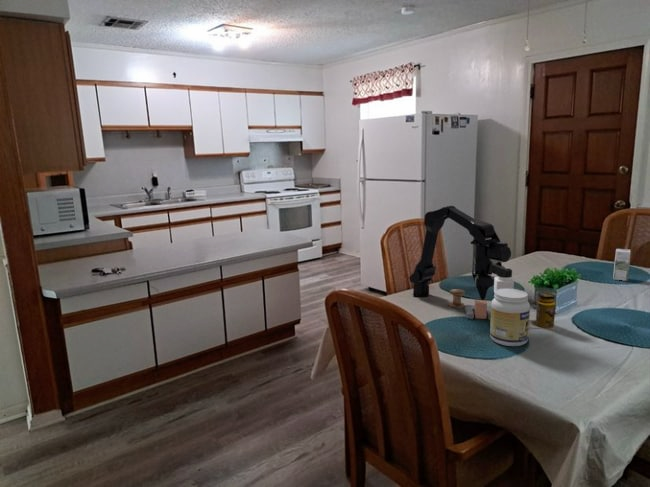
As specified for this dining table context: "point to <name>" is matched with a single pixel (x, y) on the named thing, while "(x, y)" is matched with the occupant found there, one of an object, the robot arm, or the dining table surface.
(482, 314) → the copper brown block
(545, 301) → the condiment
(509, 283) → the medicine bottle
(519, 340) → the supplement tub
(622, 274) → the syrup box
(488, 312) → the notched board
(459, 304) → the door knob
